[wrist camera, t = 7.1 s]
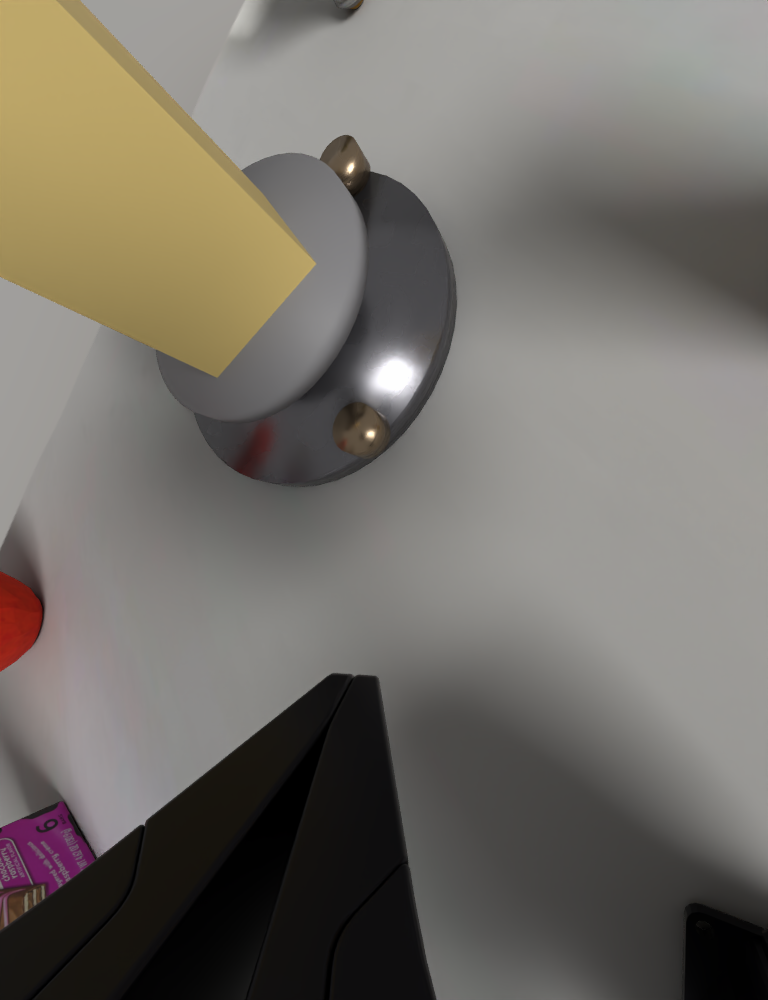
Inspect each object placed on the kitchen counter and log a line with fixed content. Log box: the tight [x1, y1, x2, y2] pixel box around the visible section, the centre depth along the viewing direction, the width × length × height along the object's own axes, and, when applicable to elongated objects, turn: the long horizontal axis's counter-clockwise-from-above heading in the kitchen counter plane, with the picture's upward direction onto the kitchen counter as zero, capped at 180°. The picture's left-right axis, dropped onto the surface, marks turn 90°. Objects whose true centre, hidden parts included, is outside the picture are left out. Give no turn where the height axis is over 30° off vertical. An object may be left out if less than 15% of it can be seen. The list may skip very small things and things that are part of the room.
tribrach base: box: [194, 135, 457, 487], centre depth 23 cm, size 19×18×4 cm
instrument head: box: [0, 0, 369, 424], centre depth 15 cm, size 13×13×13 cm
